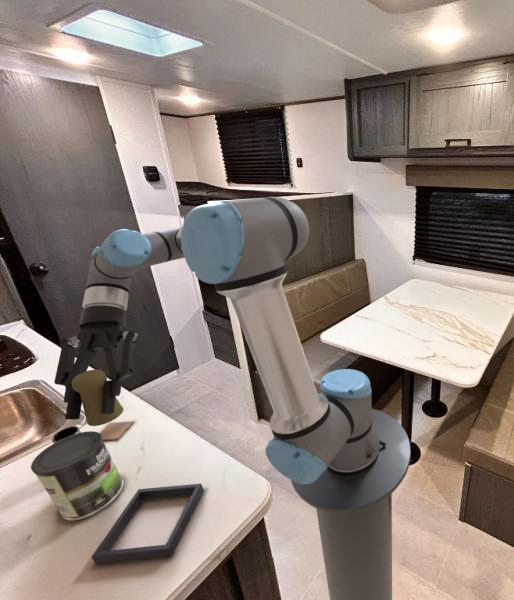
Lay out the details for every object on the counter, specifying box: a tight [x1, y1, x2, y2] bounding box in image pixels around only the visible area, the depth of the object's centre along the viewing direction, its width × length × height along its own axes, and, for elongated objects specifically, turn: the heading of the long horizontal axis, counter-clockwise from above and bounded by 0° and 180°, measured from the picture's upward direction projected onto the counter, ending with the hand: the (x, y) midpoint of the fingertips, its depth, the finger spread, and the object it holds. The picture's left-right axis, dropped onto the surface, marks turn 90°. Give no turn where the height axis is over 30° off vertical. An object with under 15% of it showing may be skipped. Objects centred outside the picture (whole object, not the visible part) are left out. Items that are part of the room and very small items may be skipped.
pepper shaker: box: [72, 369, 125, 427], centre depth 66 cm, size 6×6×11 cm
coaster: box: [100, 421, 134, 442], centre depth 86 cm, size 6×6×1 cm
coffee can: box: [30, 430, 124, 521], centre depth 66 cm, size 10×10×14 cm
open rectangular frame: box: [91, 483, 205, 566], centre depth 64 cm, size 13×13×2 cm
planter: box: [51, 425, 82, 444], centre depth 74 cm, size 4×4×10 cm
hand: (90, 415), depth 64 cm, fingers closed on pepper shaker, 5 cm apart
